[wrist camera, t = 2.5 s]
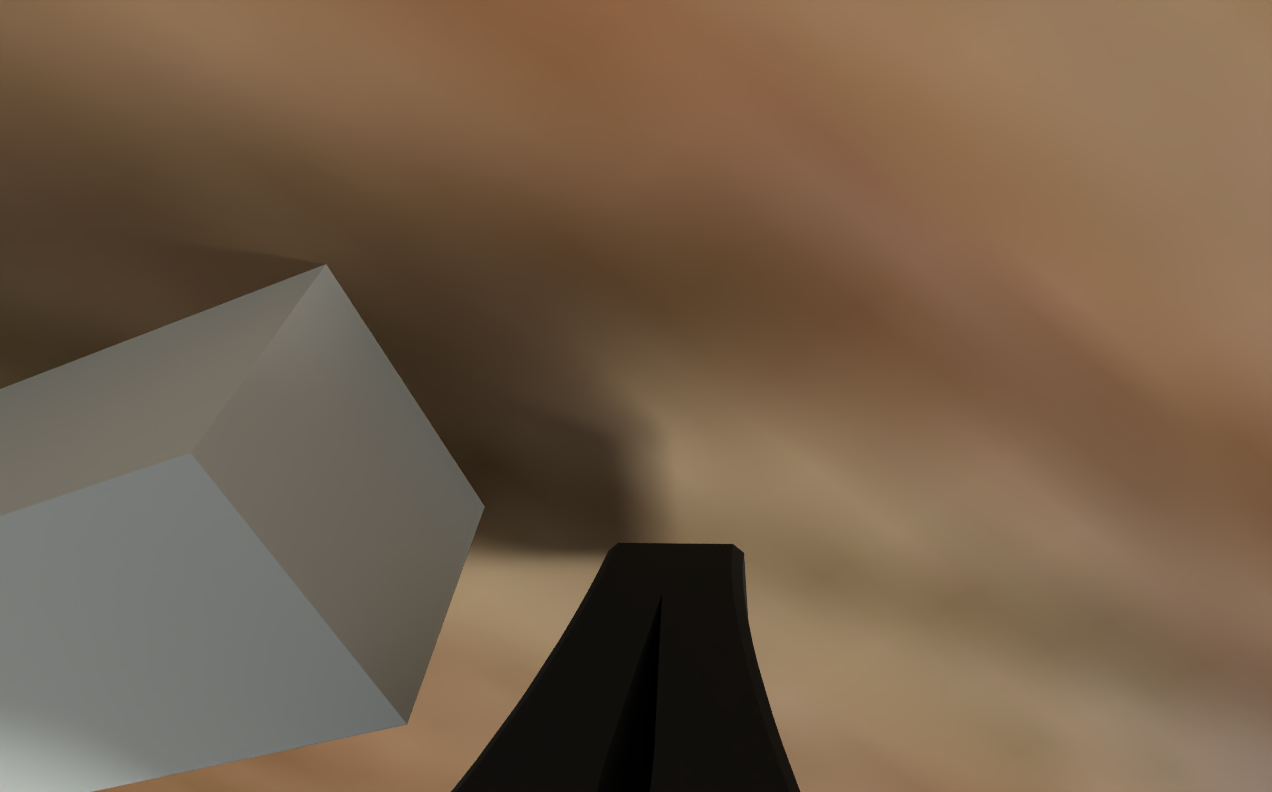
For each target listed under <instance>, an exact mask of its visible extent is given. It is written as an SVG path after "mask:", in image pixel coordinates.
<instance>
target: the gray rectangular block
mask: <svg viewBox="0 0 1272 792" xmlns="http://www.w3.org/2000/svg"><path fill="white" fill-rule="evenodd" d="M484 507H485V506H484V505H483V503H482V501H481V500H480V498H479V497H478V495H477V494H476V492H475V491H474V489H473V488H472V486H471V485H470V483H469V482H468V480H467V479H466V477H465V475H464V474H463V472H462V471H461V469H460V468H459V466H458V465H457V463H456V462H455V460H454V459H453V457H452V456H451V454H450V453H449V451H448V450H447V448H446V446H445V445H444V443H443V442H442V440H441V439H440V437H439V436H438V434H437V433H436V431H435V430H434V428H433V427H432V425H431V424H430V422H429V420H428V419H427V417H426V416H425V414H424V413H423V411H422V410H421V408H420V407H419V405H418V404H417V402H416V401H415V399H414V398H413V396H412V394H411V393H410V391H409V390H408V388H407V387H406V385H405V384H404V382H403V381H402V379H401V378H400V376H399V375H398V373H397V372H396V370H395V368H394V367H393V365H392V364H391V362H390V361H389V359H388V358H387V356H386V355H385V353H384V352H383V350H382V349H381V347H380V346H379V344H378V343H377V341H376V339H375V338H374V336H373V335H372V333H371V332H370V330H369V329H368V327H367V326H366V324H365V323H364V321H363V320H362V318H361V317H360V315H359V313H358V312H357V310H356V309H355V307H354V306H353V304H352V303H351V301H350V300H349V298H348V297H347V295H346V294H345V292H344V291H343V289H342V287H341V286H340V284H339V283H338V281H337V280H336V278H335V277H334V275H333V274H332V272H331V271H330V269H329V268H328V266H327V265H326V264H325V265H322V266H319V267H317V268H314V269H312V270H309V271H306V272H304V273H301V274H299V275H296V276H293V277H291V278H288V279H286V280H283V281H280V282H278V283H275V284H273V285H270V286H267V287H265V288H262V289H259V290H257V291H254V292H252V293H249V294H246V295H244V296H241V297H239V298H236V299H233V300H231V301H228V302H226V303H223V304H220V305H218V306H215V307H213V308H210V309H207V310H205V311H202V312H200V313H197V314H194V315H192V316H189V317H187V318H184V319H181V320H179V321H176V322H174V323H171V324H168V325H166V326H163V327H160V328H158V329H155V330H153V331H150V332H147V333H145V334H142V335H140V336H137V337H134V338H132V339H129V340H127V341H124V342H121V343H119V344H116V345H114V346H111V347H108V348H106V349H103V350H101V351H98V352H95V353H93V354H90V355H88V356H85V357H82V358H80V359H77V360H74V361H72V362H69V363H67V364H64V365H61V366H59V367H56V368H54V369H51V370H48V371H46V372H43V373H41V374H38V375H35V376H33V377H30V378H28V379H25V380H22V381H20V382H17V383H15V384H12V385H9V386H7V387H4V388H2V389H0V792H92V791H97V790H102V789H107V788H111V787H116V786H121V785H125V784H130V783H135V782H139V781H144V780H149V779H153V778H158V777H163V776H167V775H172V774H177V773H181V772H186V771H191V770H195V769H200V768H205V767H210V766H214V765H219V764H224V763H228V762H233V761H238V760H242V759H247V758H252V757H256V756H261V755H266V754H270V753H275V752H280V751H284V750H289V749H294V748H299V747H303V746H308V745H313V744H317V743H322V742H327V741H331V740H336V739H341V738H345V737H350V736H355V735H359V734H364V733H369V732H373V731H378V730H383V729H388V728H392V727H397V726H402V725H406V724H407V723H408V720H409V717H410V715H411V712H412V709H413V706H414V703H415V701H416V698H417V695H418V692H419V689H420V687H421V684H422V681H423V678H424V675H425V673H426V670H427V667H428V664H429V661H430V659H431V656H432V653H433V650H434V647H435V645H436V642H437V639H438V636H439V633H440V631H441V628H442V625H443V622H444V619H445V617H446V614H447V611H448V608H449V605H450V603H451V600H452V597H453V594H454V591H455V589H456V586H457V583H458V580H459V577H460V575H461V572H462V569H463V566H464V563H465V561H466V558H467V555H468V552H469V549H470V547H471V544H472V541H473V538H474V535H475V533H476V530H477V527H478V524H479V521H480V519H481V516H482V513H483V510H484Z"/></svg>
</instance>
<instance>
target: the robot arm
mask: <svg viewBox="0 0 1272 792" xmlns="http://www.w3.org/2000/svg"><path fill="white" fill-rule="evenodd" d="M451 792H800V789H799V787H798V784H797V782H796V779H795V776H794V774H793V771H792V768H791V766H790V763H789V760H788V758H787V755H786V752H785V750H784V747H783V744H782V741H781V738H780V735H779V732H778V729H777V726H776V723H775V720H774V717H773V714H772V711H771V708H770V704H769V701H768V697H767V694H766V691H765V687H764V684H763V680H762V677H761V674H760V670H759V667H758V663H757V659H756V655H755V651H754V647H753V642H752V637H751V632H750V627H749V622H748V610H747V594H746V578H745V562H744V553H743V552H742V551H741V550H740V549H738V548H737V547H736V546H735V545H733V544H668V543H617V544H616V545H615V546H614V547H613V548H611V549H610V550H609V551H608V553H607V555H606V557H605V559H604V561H603V563H602V565H601V567H600V569H599V571H598V573H597V575H596V577H595V579H594V581H593V583H592V584H591V586H590V588H589V590H588V592H587V594H586V595H585V597H584V599H583V601H582V603H581V604H580V606H579V608H578V610H577V611H576V613H575V615H574V616H573V618H572V620H571V621H570V623H569V625H568V626H567V628H566V630H565V631H564V633H563V635H562V637H561V638H560V640H559V641H558V643H557V645H556V646H555V648H554V649H553V651H552V652H551V654H550V655H549V657H548V658H547V660H546V661H545V663H544V665H543V666H542V668H541V669H540V671H539V672H538V674H537V675H536V677H535V678H534V680H533V682H532V683H531V685H530V686H529V688H528V689H527V691H526V692H525V694H524V695H523V697H522V698H521V700H520V701H519V702H518V704H517V705H516V707H515V708H514V709H513V711H512V712H511V714H510V715H509V716H508V718H507V719H506V720H505V722H504V723H503V724H502V726H501V727H500V728H499V730H498V731H497V733H496V734H495V735H494V737H493V738H492V739H491V741H490V742H489V743H488V745H487V746H486V748H485V749H484V750H483V752H482V753H481V754H480V756H479V757H478V758H477V760H476V761H475V762H474V764H473V765H472V766H471V768H470V769H469V770H468V771H467V773H466V774H465V775H464V776H463V778H462V779H461V780H460V781H459V783H458V784H457V785H456V786H455V788H454V789H453V790H452V791H451Z"/></svg>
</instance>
